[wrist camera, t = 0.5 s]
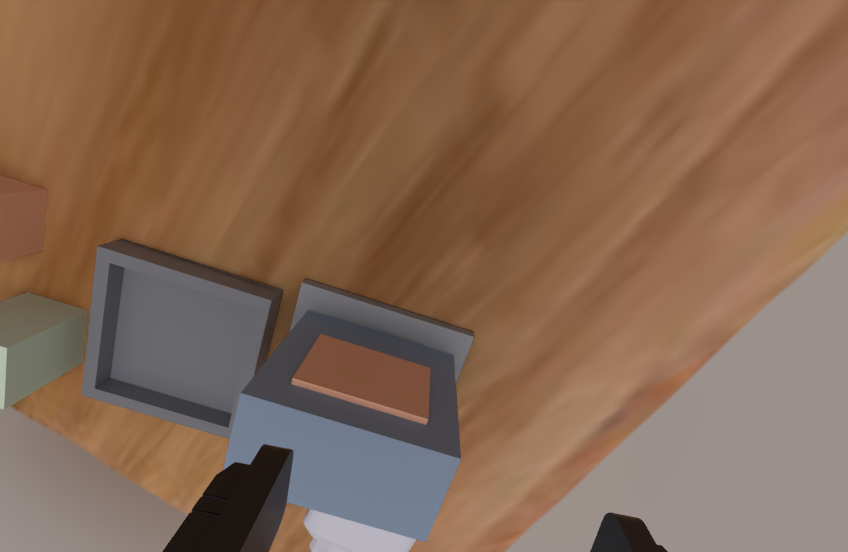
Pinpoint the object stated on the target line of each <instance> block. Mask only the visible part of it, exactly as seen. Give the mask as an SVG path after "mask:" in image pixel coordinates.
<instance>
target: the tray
mask: <svg viewBox="0 0 848 552" xmlns="http://www.w3.org/2000/svg"><path fill="white" fill-rule="evenodd" d="M282 293H283V290H282V289H278V288H275V287H272V286H269V285H266V284H263V283H259V282H256V281H253V280H250V279H247V278H244V277H240V276H237V275H234V274H231V273H228V272H225V271H221V270H218V269H215V268H212V267H209V266H206V265H202V264H199V263H196V262H193V261H190V260H187V259H183V258H180V257H177V256H174V255H171V254H167V253H164V252H161V251H158V250H155V249H152V248H148V247H145V246H142V245H139V244H136V243H133V242H129V241H126V240H123V239H120V240H117V241H113V242H110V243H106V244H103V245H99V246H97V254H96V263H95V272H94V282H93V291H92V300H91V310H90V319H89V328H88V338H87V347H86V356H85V366H84V375H83V384H82V394H81V395H82V396H85V397H89V398H92V399H96V400H99V401H103V402H106V403H109V404H113V405H116V406H120V407H123V408H126V409H130V410H133V411H137V412H140V413H143V414H147V415H150V416H154V417H157V418H160V419H164V420H167V421H171V422H174V423H178V424H181V425H184V426H188V427H191V428H195V429H198V430H201V431H205V432H208V433H212V434H215V435H218V436H222V437H225V438H229V439H230V437H231V432H232V428H233V424H234V419H235V415H236V411H237V406H238V402H239V398H240V393H241V392H242V391H243V389H244V388H245V387H246V386H247V384H248V383H249V382H250V381H251V380H252V378H253V377H254V376H255V375H256V373H257V372H258V371H259V370H260V368H261V367H262V366H263V365H264V364H265V362H266V358H267V354H268V350H269V346H270V342H271V338H272V334H273V330H274V326H275V321H276V317H277V313H278V309H279V305H280V301H281V297H282Z"/></svg>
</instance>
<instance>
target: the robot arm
mask: <svg viewBox="0 0 848 552" xmlns="http://www.w3.org/2000/svg"><path fill="white" fill-rule="evenodd" d="M293 456H294V451H293V450H292V449H287V448H282V447H277V446H272V445H266V444H263V445H262V446H261V448H260V449H259V451H258V453H257V454H256V456H255V458H254V459H253V461H252V462H251V464H250V465H249V464H243V463H238V462H234V463H233V464H231V465H230V466H229V467H227V468H226V469H224V470H223V471H221V472H220V473H219V474H217V475H216V476H215V477H214V479H213V480H212V482H211V483H210V485H209V486H208V487H207V489H206V490H205V492H204V493H203V496H202V497H200V499H199V500H198V502H197V503H196V505H195V506H194V507H193V509H192V512H191V513H189V515H188V516H187V517H186V519H185V520H184V522H183V523H182V525H181V526H180V528H179V529H178V530H177V532H176V533H175V535H174V536H173V537H172V539H171V540H170V542H169V543H168V545H167V546H166V548H165V549H164V550H163V552H269V550H270V547H271V545H272V543H273V540H274V538H275V536H276V533H277V531H278V529H279V526H280V523H281V521H282V517H283V514H284V511H285V507H286V502H287V497H288V490H289V483H290V476H291V470H292V463H293ZM590 552H667V550H666V549H664V547H663V546H661V545H656V543H655V541H654V539H653V538H652V536H651V534H650V532H649V531H648V529H647V527H646V525H645V524H644V522H643V521H642V520H641V519H639V518H635V517H630V516H625V515H620V514H614V513H607V514H606V515H605V516H604V518H603V521H602V523H601V526H600V528H599V531H598V533H597V536H596V539H595V541H594V544H593V546H592V549H591V551H590Z"/></svg>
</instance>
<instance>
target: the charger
mask: <svg viewBox="0 0 848 552" xmlns="http://www.w3.org/2000/svg"><path fill="white" fill-rule="evenodd" d="M448 489H449V488H448ZM303 523H304V525H305V527H306V528H307V530H308V531H309V533H310V535H311V536H312V537H314V538H313V540H312V542H311V543H310V545H309V546H310V549H311V551H312V552H409V550H410V548H411V547H412V545H413V544H414V542H415V541H416V539H413V538H409V537H406V536H402V535H399V534H395V533H392V532H388V531H385V530H381V529H378V528H374V527H371V526H367V525H364V524H360V523H357V522H353V521H350V520H346V519H343V518H339V517H336V516H332V515H329V514H325V513H322V512H319V511H315V510H312V509H307V512H306V514H305V517H304V520H303Z"/></svg>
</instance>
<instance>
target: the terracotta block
mask: <svg viewBox="0 0 848 552" xmlns="http://www.w3.org/2000/svg"><path fill="white" fill-rule="evenodd" d="M46 196H47V190H46V189H43V188H40V187H37V186H34V185H31V184H28V183H24V182H21V181H18V180H15V179H12V178H9V177H6V176H2V175H0V262H1V261H4V260H8V259H12V258H16V257H20V256H24V255H28V254H32V253H35V252H39V251H43V240H44V225H45V211H46Z"/></svg>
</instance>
